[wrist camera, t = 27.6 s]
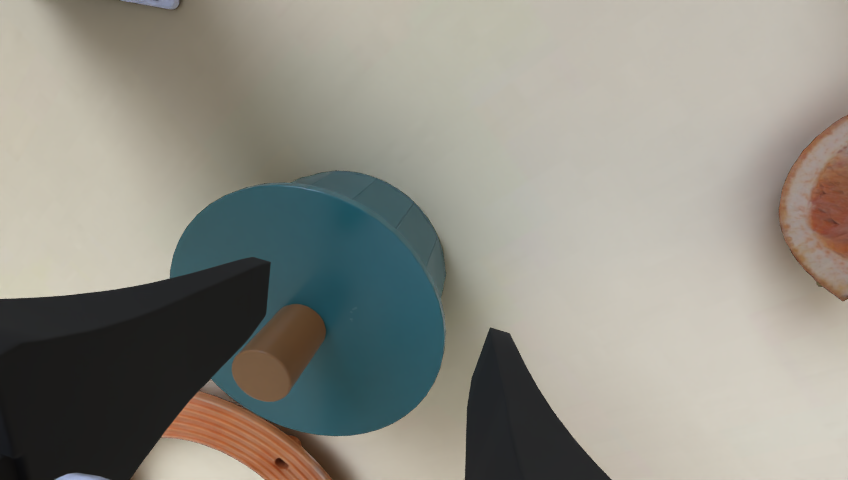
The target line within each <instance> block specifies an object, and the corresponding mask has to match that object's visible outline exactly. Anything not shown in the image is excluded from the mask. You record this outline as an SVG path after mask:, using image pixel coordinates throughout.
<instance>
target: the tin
mask: <svg viewBox="0 0 848 480" xmlns="http://www.w3.org/2000/svg"><path fill="white" fill-rule="evenodd" d="M291 183H297V184H306V185H311V186H315V187H320V188H324V189H327V190H330V191H333V192H336V193H338V194H341V195H344V196H346V197H348V198H350V199H352V200H354V201H356V202H358V203H360V204H362V205H364V206H366V207H367V208H369V209H370V210H372V211H373V212H375V213H376V214H378V215H379V216H381V217H382V218H383V219H384V220H386V221H387V222H388V223H389V224H390V225H392V226H393V227H394V228H395V229H396V230H398V232H399V233H400V234H401V235H402V236H403V237H404V238H405V239H406V240H407V241H408V242H409V243H410V244H411V245H412V247H413V248H414V249H415V251H416V252H417V254H418V255H419V256H420V258H421V259H422V260H423V262H424V263H425V265H426V267H427V269H428V271H429V272H430V274H431V276H432V278H433V280H434V282H435V285H436V288H437V290H438V293H439V295H440V298H441V296H442V291H443V287H444V282H445V277H446V271H445V262H444V256H443V251H442V247H441V244H440V241H439V238H438V236H437V234H436V232H435V230H434V228H433V226H432V224H431V223H430V221H429V220H428V218H427V217H426V215H425V214H424V213H423V212H422V210H421V209H420V208H419V207H418V206H417V205H416V204H415V203H414V202H413V201H412V200H411V199H410V198H409V197H408V196H407V195H405V194H404V193H403V192H401V191H400V190H399V189H397V188H395V187H394V186H392V185H390V184H388V183H387V182H385V181H382V180H380V179H377V178H375V177H373V176H369V175H365V174H362V173H357V172H350V171H330V172H322V173H318V174H315V175H311V176H307V177H302V178H299V179H297V180H295V181H293V182H291Z"/></svg>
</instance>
